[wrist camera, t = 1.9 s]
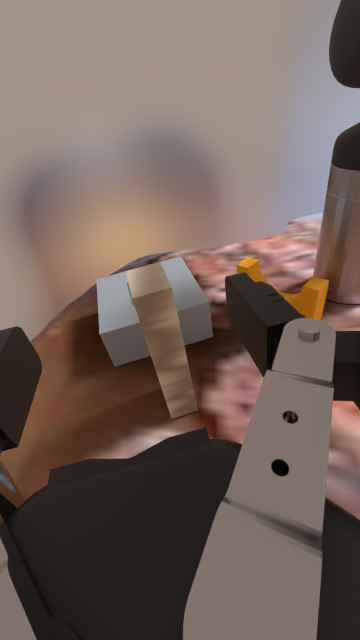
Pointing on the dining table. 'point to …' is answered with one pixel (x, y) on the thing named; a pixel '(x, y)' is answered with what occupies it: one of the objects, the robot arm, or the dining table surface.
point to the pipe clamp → (304, 302)
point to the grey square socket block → (122, 319)
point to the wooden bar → (163, 336)
